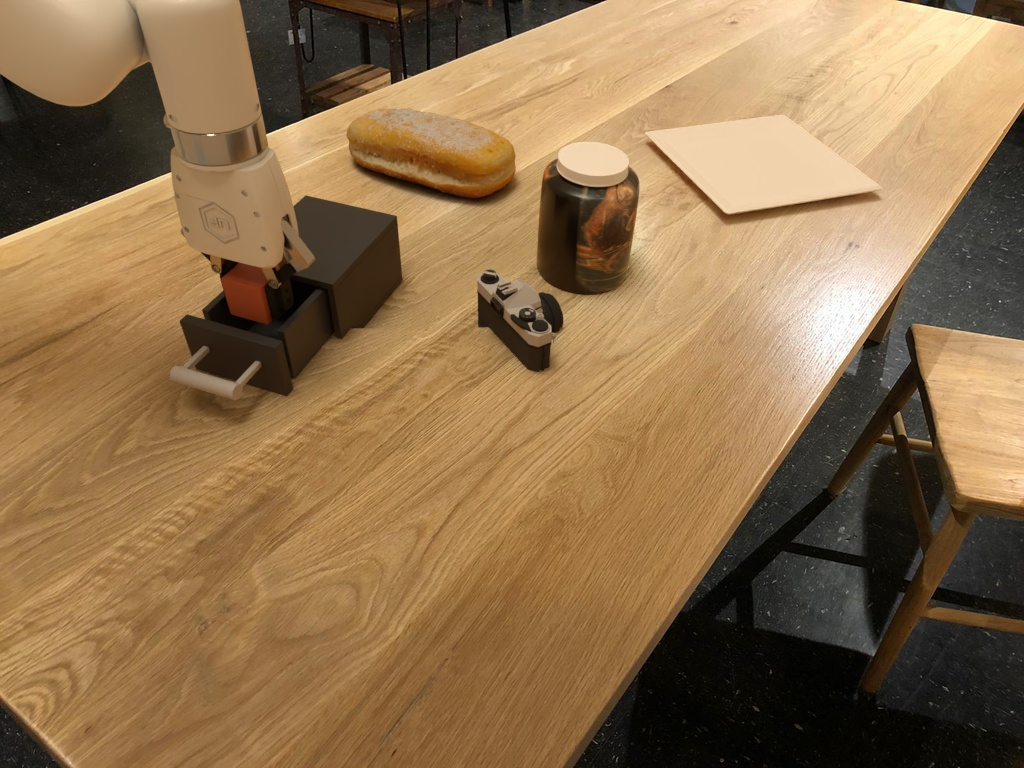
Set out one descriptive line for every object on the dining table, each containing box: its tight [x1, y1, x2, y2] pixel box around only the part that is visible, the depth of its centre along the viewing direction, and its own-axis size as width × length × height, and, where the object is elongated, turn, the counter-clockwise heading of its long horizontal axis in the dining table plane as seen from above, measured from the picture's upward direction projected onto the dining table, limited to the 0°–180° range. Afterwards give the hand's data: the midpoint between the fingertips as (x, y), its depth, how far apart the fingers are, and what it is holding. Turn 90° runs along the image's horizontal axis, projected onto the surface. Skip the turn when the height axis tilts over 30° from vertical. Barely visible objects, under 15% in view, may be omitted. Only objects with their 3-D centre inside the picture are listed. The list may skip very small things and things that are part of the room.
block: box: [220, 263, 280, 325], centre depth 77 cm, size 4×4×4 cm
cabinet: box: [286, 195, 403, 340], centre depth 88 cm, size 15×12×9 cm
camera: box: [476, 269, 564, 373], centre depth 84 cm, size 13×8×9 cm, turn 34°
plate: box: [644, 114, 883, 216], centre depth 117 cm, size 26×26×2 cm
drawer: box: [169, 279, 335, 401], centre depth 79 cm, size 18×11×7 cm, turn 160°
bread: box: [346, 107, 517, 199], centre depth 112 cm, size 13×26×8 cm, turn 64°
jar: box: [536, 141, 640, 295], centre depth 92 cm, size 12×12×15 cm
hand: (261, 304), depth 78 cm, fingers closed on block, 4 cm apart
